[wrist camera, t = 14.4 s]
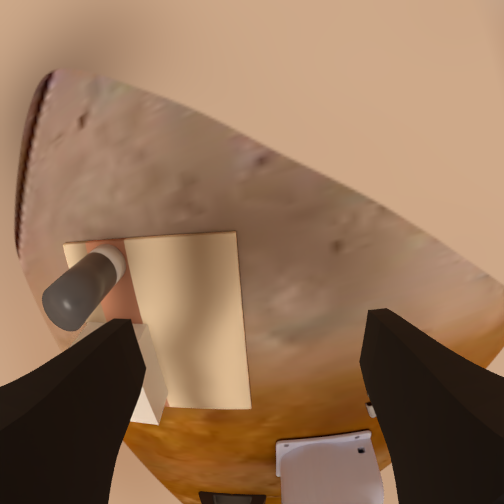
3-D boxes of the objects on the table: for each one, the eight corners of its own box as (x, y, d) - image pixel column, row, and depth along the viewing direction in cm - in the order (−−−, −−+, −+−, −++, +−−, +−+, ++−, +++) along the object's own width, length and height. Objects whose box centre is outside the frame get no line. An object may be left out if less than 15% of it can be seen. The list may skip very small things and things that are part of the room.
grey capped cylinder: (117, 239, 18) (69, 282, 12) (131, 277, 19) (91, 329, 13) (86, 248, 18) (35, 290, 12) (100, 283, 19) (56, 332, 13)
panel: (236, 231, 18) (235, 233, 18) (251, 405, 23) (251, 408, 23) (65, 242, 18) (62, 244, 18) (120, 398, 24) (118, 401, 23)
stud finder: (147, 324, 20) (129, 358, 16) (168, 392, 22) (157, 427, 19) (88, 321, 20) (65, 351, 17) (115, 387, 23) (100, 418, 19)
